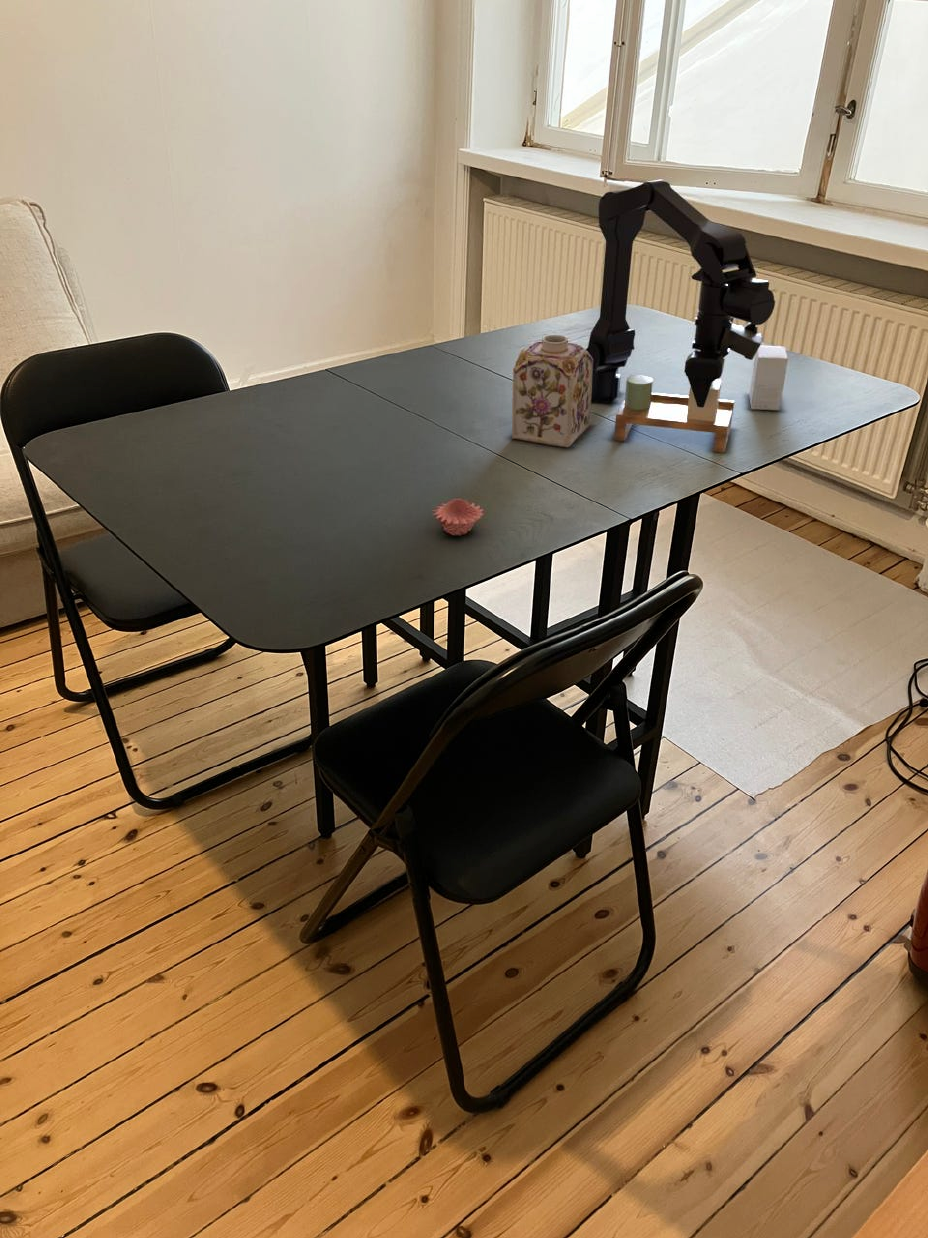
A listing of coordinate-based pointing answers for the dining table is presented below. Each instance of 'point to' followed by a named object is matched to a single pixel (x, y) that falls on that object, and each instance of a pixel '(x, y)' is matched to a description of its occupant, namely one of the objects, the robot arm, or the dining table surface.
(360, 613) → the dining table surface
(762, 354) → the small box
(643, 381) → the ceramic canister
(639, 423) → the shelf
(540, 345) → the decorative jar
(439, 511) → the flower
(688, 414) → the cream block
